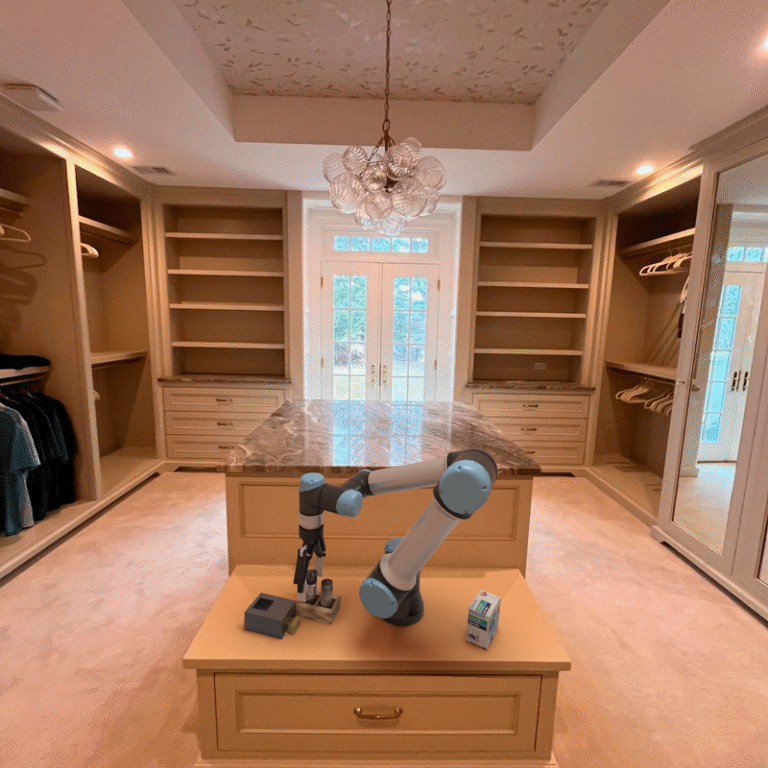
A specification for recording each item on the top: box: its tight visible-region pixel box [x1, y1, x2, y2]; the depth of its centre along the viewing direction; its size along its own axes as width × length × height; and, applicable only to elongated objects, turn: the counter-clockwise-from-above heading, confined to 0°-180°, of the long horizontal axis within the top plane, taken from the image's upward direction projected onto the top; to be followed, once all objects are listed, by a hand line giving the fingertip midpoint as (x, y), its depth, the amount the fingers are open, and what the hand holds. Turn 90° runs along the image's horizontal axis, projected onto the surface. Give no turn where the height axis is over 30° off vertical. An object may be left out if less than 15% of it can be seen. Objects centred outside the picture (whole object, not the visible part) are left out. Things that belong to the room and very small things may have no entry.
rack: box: [296, 578, 342, 626], centre depth 132 cm, size 12×8×11 cm, turn 76°
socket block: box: [243, 592, 297, 640], centre depth 126 cm, size 12×9×6 cm
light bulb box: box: [465, 589, 502, 649], centre depth 126 cm, size 11×7×11 cm, turn 148°
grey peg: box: [304, 568, 319, 605], centre depth 132 cm, size 4×4×12 cm
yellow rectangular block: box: [285, 616, 301, 635], centre depth 126 cm, size 11×4×3 cm, turn 76°
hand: (310, 587), depth 132 cm, fingers open, 12 cm apart
